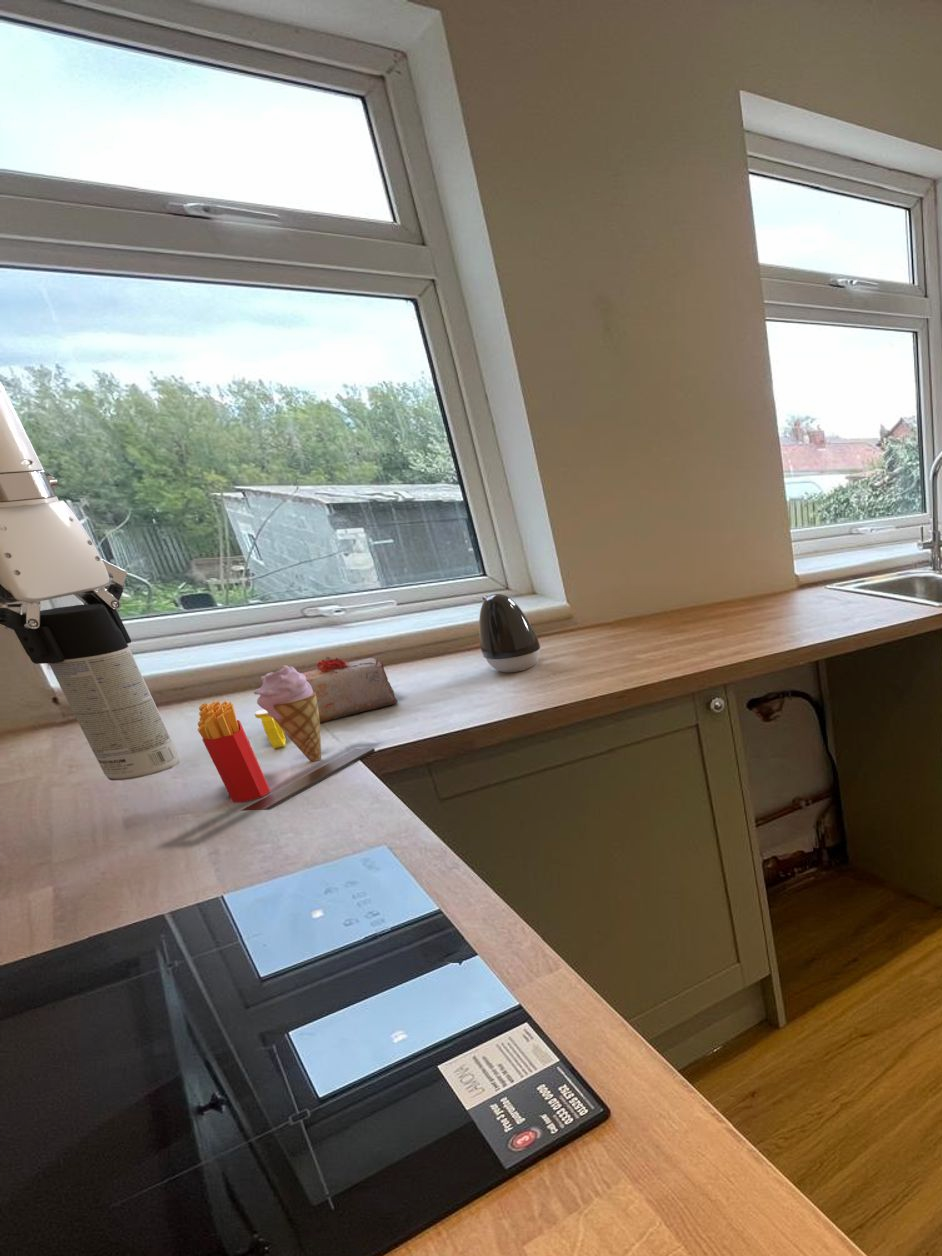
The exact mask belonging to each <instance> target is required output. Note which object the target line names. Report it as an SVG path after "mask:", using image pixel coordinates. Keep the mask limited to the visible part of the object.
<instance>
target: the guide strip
mask: <svg viewBox="0 0 942 1256" xmlns="http://www.w3.org/2000/svg"><path fill="white" fill-rule="evenodd" d="M374 752H376V750H375V747H374V748H373V747H371V748H368V747H367V748H353V749H352V750H351V751H349V752H346V753H344V754H342V755H341V756H339V757H337V758H336V759H334V760H331V761H330V762H328V763H326V764H325V765H323V766H320V767H319V768H317V769H315V770H313V771H311V772H310V773H308V774H306V775H303V776H301V777H300V778H298V779H296V780H294V781H293V782H290V783H289V784H287V785H285V786H283V787H281V788H279V789H278V790H276V791H273V792H272V793H270V794H267V795H266V796H264V797H262V798H261V799H259V800H257V801H255V802H254V803H252V804H250V805H248V806H246V807H244V808H242V809H240V812H245V811H246V812H247V811H248V812H249V811H269V810H272V809H273V808H275V807H277V806H279V805H281V804H283V803H284V802H286V801H288V800H290V799H291V798H293V797H295V796H297V795H298V794H300V793H302V792H304V791H305V790H307V789H309V788H311V787H313V786H315V785H316V784H319V783H320V782H323V781H324V780H325V779H327V778H330V777H331V776H333V775H334V774H336V773H338V772H340V771H342V770H344V769H345V768H347V767H350V766H351V765H353V764H354V763H356V762H358V761H359V760H361V759H364V758H365V757H367V756H369V755H370V754H372V753H374Z"/></svg>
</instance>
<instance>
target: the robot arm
mask: <svg viewBox="0 0 942 1256" xmlns="http://www.w3.org/2000/svg"><path fill="white" fill-rule="evenodd" d="M58 487H59V482H58V480H57V479H56V478H55V477H53V476H51V475H47V474H46V471H45V470H44V467H43V465H42V463H41V461H40V459H39V456H38V455H37V452H36V450H35V448H34V447H33V444H32V442H31V440H30V438H29V436H28V434H27V432H26V430H25V428H24V426H23V424H22V421H21V420H20V418H19V416H18V414H17V412H16V410H15V407H14V405H13V404H12V400H11V399H10V397H9V395H8V393H7V391H6V389H5V387H4V385H3V383H2V382H1V381H0V605H1V604H2V606H0V625H2V627H3V628H4V629H6V630H8V631H14V633H15V635H16V637H17V639H18V640H19V643H20V644H21V646H22V648H23V650H24V651H25V653H26V655H27V656H28V657H29V659H30V661H31V662H32V663H33V664H34V665H40V664H45V665H46V664H49V663H59V662H63V661H64V660H65V657H64V655H63V653H62V651H61V649H60V647H59V645H58V644H57V642H56V640H55V638H54V636H53V634H52V632H51V630H50V629H49V628H48V627H40V611H41V602H42V601H43V602H44V601H48V600H53V599H57V598H63V597H68V596H72V595H74V597H76V598H77V599H78V600H79V601H80V602H81V603H82V604H83V605H84V604H103V605H105V606H106V608H107V610H108V612H109V614H110V615H111V617H112V619H113V620H114V622H115V624H116V625H117V627H118V628H119V629H120V630H121V632H122V634H123V636H124V638H125V640H126V642H127V644H128V645H129V644H131V643H132V639H131V637H130V635H129V633H128V631H127V629H126V627H125V625H124V622H123V620H122V618H121V617H120V614H119V613H118V610H120V609H121V606H122V604H121V601H120V600H121V597H122V596H123V593H124V588H123V587H125V582H126V580H127V577H128V572H127V570H125V569H123V568H122V567H119V566H117V565H115V564H113V563H111V562H109V561H107V560H105V559H103V558H102V556H101V555H100V552H99V551H98V549H97V548H96V545H95V544H94V542H93V540H92V538H91V537H90V535H89V533H88V532H87V530H86V529H85V528H84V526H83V524H82V523H81V521H80V520H79V519H78V517H77V516H76V514H75V513H74V512H73V510H72V509H71V507H70V506H68V504H67V502H65V500H63V499H61V500H59V498H58V496H57V493H56V491H55V490H54V489H58Z"/></svg>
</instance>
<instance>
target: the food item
mask: <svg viewBox="0 0 942 1256" xmlns="http://www.w3.org/2000/svg"><path fill="white" fill-rule="evenodd" d="M315 666H316V669H313V670H308V671H305V672H300V673H301V674H303V675H304V676H305V677H306V681H307V682H308V683H309V684H310V685H311V687H312V690H313V692H316V699H317V705H318V711H319V721H320V724H321V723H324V722H329V721H332V720H336V719H339V718H343V717H347V716H352V715H355V714H360V713H363V712H367V711H373V710H377V709H381V708H385V707H389V706H392V705H395V704H398V703H399V702H398V699H397V698H396V696H395V691H394V688H393V687H392V685H391V682H389V680H388V676H387V673H386V671H385V668H384V664H383V663H382V662H380V660H379V659H377V658H374V657H368V658H363V659H359V660H358V659H357V660H354V661H348V662H345V661H344V660H343V659H341V658H338V657H335V659H334V658H331V657H330V656H326V657H325V658H324V659H321V661H319V662H317V663H316V664H315Z"/></svg>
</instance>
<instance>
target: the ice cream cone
mask: <svg viewBox="0 0 942 1256" xmlns="http://www.w3.org/2000/svg"><path fill="white" fill-rule="evenodd" d="M301 673H302V672H298V671H297V669H296V668H295V667H294V666H289V665H286V664H283V665H282V668H281V669H279V670H276V671H275V672H272V671H270V672H268V673H266V674H265V675H263V676H260V681H261V682H262V685H261V686H260V688H257V689H255V690H254V692H253V694H254V695H259V697H258V698H257V699H256V702H257V705H258V706H259V707H260V708H261V709H264V710H266V711H267V712H268V714H269V716H270V717H273V718H274V720H275V721H276V722H277V724H278V725H279V726H280V727H281V729H282V730H283V732H284V734H285V735H286V736H287V737H288V739H290V741H291V742H292V743H293V744H294V745H295V746H296V747H297V748H298V750H299V751H300V752H301V753H302V754H303V756H305V757H306V759H307V760H308V761H309V762H317V761H320V760H321V759H322V744H321V743H322V740H321V739H322V738H321V723H320V721H319V711H318V705H317V699H316V692H313V690H312V687H311V685H310V684H309V683H308V682H307V681H306V677H305V676H304V675H303V674H301Z"/></svg>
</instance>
